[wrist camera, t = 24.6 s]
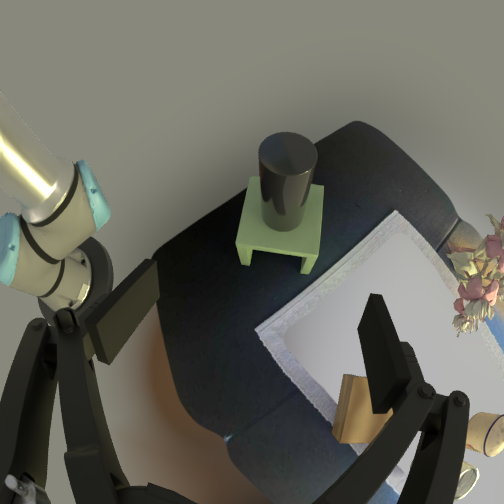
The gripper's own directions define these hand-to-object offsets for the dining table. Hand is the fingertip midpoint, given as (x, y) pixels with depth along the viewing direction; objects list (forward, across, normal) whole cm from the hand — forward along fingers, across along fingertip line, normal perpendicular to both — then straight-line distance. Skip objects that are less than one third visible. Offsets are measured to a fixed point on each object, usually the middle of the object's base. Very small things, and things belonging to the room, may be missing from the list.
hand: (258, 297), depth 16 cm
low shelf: (+14, -20, +30) cm, 39 cm away
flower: (+30, -40, +14) cm, 52 cm away
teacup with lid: (+8, -51, +36) cm, 63 cm away
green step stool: (+34, 0, +10) cm, 35 cm away
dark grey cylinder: (+27, 0, +3) cm, 27 cm away
